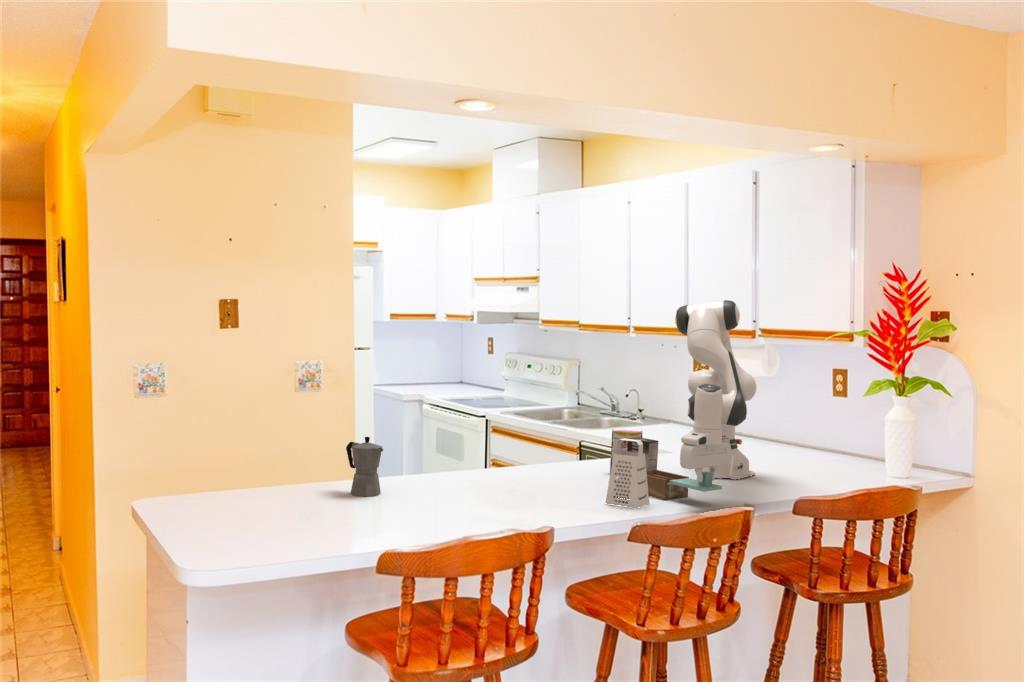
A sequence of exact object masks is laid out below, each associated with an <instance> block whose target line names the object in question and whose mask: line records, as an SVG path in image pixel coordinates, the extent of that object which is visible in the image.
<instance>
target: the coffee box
mask: <svg viewBox="0 0 1024 682" xmlns="http://www.w3.org/2000/svg"><path fill="white" fill-rule="evenodd" d="M629 439H634V440H641V442H642V443H643V453H645V461H646V470H649V469H656V470H658V457H659V440H658V439H657V440H656V439H650V438H646V437H642V438H640V437H636V438H629ZM627 451H628V452H637V453H638V451H639V445H638V443H637V442H636V441H628V447H627Z"/></svg>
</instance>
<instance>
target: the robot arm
mask: <svg viewBox="0 0 1024 682" xmlns="http://www.w3.org/2000/svg"><path fill="white" fill-rule="evenodd" d="M675 313H676V314H675V316H674V317H675V318H674V321H675V325H676V328H677V330H678V332H679V333H680V334H682V335H685V336H686V339H687V341H686V342H687V350H688V354H689V355H690V356H691V357H692V359H694V361H697V362H698V363H699V364H701V365H705V366H708V367H709V368H711V369H701V370H695V371H693V372H692V373H691V374H690V375H689V378H688V382H687V387H688V391H689V393H690V395H691V396H690V397H689V398H688V399H687V400H688V401H687V403H688V409H687V417H688V418H689V419H690V420H692V421H693V422H694V423H693V428H692V430H691V431H689V432H687V433H686V434H684V435H682V436H681V439H680V440H681V443H682V445H681V448H680V453H679V454H680V456H679V465H680V466H681V468H682V469H686V470H694V471H695V475H696V480H697V481H698V482H704V479H705V476H703V475H702V472H710V473H713V478H712V482H713V481H715V479H722V478H731V479H730V480H736V479H738V480H740V479H739V478H742V479H744V478H743V477H746V478H748V477H747V476H750V477H752V476H751V475H754V476H756V475H755V474H756V472H755V471H752V470H750V461H749V459H748V457H747V456H746V455H745V454H743V452H742V451H741V450H739V448H738V447H739V446H738V445H742V443H743V439H742V438H741V439H740V438H736V433H735V432H736V427H737V426H740V425H741V424H742V423H743V422H744V421H745V420H746V419H747V414H748V407H747V406H748V405H747V403H746V402H748V401H750V400H752V399H753V398H754V396H755V394H756V393H757V383H756V382H757V381H756V379H755V378H754V377H753V375H751V374H749V373H748V372H747V371H746V370H744V369H743V368H742V367H741V365H740V364H739V363H738V361H737V360H736V358H735V356H734V353H733V347H732V344H731V343H732V342H731V338H730V331H732V330H734V329H736V328H737V326H739V322H740V316H741V313H740V310H739V307H738V306H737V303H735V302H734V301H733V300H729V299H724V300H714V301H713V300H712V301H711V300H710V301H704V302H699V303H698V302H697V303H694V304H693V303H692V304H689V305H688V304H685V305H682V306H679V307H678V308H677V310H676V312H675Z"/></svg>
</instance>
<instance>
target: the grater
mask: <svg viewBox="0 0 1024 682" xmlns="http://www.w3.org/2000/svg"><path fill="white" fill-rule="evenodd" d="M622 440H627V441H636V442H637V443H638V445H639V451H638V453H637V452H628V451H621V441H622ZM619 465H620V466H619ZM616 466H618V467H616ZM608 480H609V481H608V487H607V491H606V496H605V503H607V504H614V505H621V506H627V507H632V508H638V507H640V508H642V507H644V506H643V505H645V504H647V503H649V504H650V498H649V497H650V496H649V495H648V483H647V472H646V461H645V453H643V443H642V442H641V440H634V439H625V438H624V439H620V440H619V441H618V442H617V444H616V453H615V454H614V456H613V461H612V467H611V473H610V472H609V479H608ZM618 497H619V499H617V498H618ZM620 498H623V499H620ZM624 498H625V499H626V500H624ZM627 499H630V500H627ZM619 501H620V502H619ZM623 502H624V503H623ZM626 502H627V503H626ZM605 503H604V504H605ZM647 505H648V504H647ZM641 506H642V507H641ZM645 506H646V505H645ZM632 508H631V509H632ZM638 509H639V508H638Z"/></svg>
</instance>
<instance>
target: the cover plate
mask: <svg viewBox="0 0 1024 682" xmlns="http://www.w3.org/2000/svg"><path fill="white" fill-rule="evenodd" d="M702 475H703V476H705V479H704V482H698V481H697V479H692V478H690V477H689V478H685V479H677V480H669V484H673V485H678V486H682V487H686V488H688V489H689V490H690V489H691V490H695V491H700V492H703V493H705V492H711V491H718V490H723V486H722V485H719V484H716V483H715V484H714V483H713V481H712V478H713V473H710V472H702Z"/></svg>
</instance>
